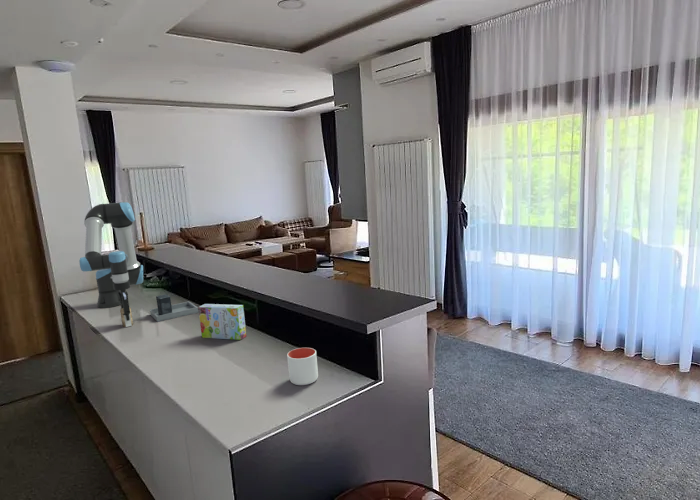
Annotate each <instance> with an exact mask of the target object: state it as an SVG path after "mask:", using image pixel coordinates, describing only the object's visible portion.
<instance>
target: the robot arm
mask: <svg viewBox="0 0 700 500" xmlns="http://www.w3.org/2000/svg"><path fill="white" fill-rule="evenodd" d="M84 217H85V218H84V224H83V225H84V226H85V246H84V247H85V248H84V249H85V250H84V256H83V257H80V258H79V261H78V262H79V263H78V264H79V268H80V270H81V271H82V272H92V271H96V272H95V280H96V285H97V290H98V298H97V302H96V305H97V308H99V309H106V308H113V307H118V306H120V309H122V308H123V310H124V314H123V315H124V318H125V325H126V327H125V328H129V327H131V326H133V325H132V324H131V318H130V308H131V307H130V303H129V293H128V292H127V290H128V289H130V288H131V286H135V285H139V284H140V285H141V284H142V283H144V265H143V264H141V262H139V261H138V260H137V255H136V249H135V245H134V244H135V243H134V238H133V233H132V232H133V231H132V225H134V224H133V223H134V222H135V221H136V219H135V213H134V211H133V208H132V205H131V204H130V203H129V202H127V201H126V202H121V201H120V202H112V203H110V202H109V203H98V204H97V205H94V206H93V207H92V208H90V209H89V210H88V212H87V213H86V215H85V216H84ZM109 224H110V226H111V228H113V229H114V232H115V237H116V242H117V247H118V250H117V251H116V250H115V251H112V252H111V251H110V252H109V253H108V254H102V239H103V238H102V237H103V236H102V235H103V227H104V225H109ZM129 307H130V308H129ZM128 326H129V327H128Z"/></svg>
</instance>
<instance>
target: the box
mask: <svg viewBox="0 0 700 500" xmlns="http://www.w3.org/2000/svg"><path fill="white" fill-rule="evenodd" d="M155 297H156V306H157V307H156V308H158V314H159V315H164V314H169V313H172V306H171V305H172V299H171V296H170V295H168V294H165V293H164V294H161V295H157V296H155Z"/></svg>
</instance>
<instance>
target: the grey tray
mask: <svg viewBox="0 0 700 500" xmlns="http://www.w3.org/2000/svg"><path fill="white" fill-rule="evenodd" d="M171 306H172V313H169V314H164V315H159V314H158V307H156V308H152V309H149V314H150V315H149V316H151V317H152V318H153V319H154V320H155V321H156V322H157V323H158V322H164V321H168V320H172V319H177V318H181V317H185V316H186V317H187V316H189V315H194V314H199V310H198V307H199V306H196V305H195V304H194V303H193V302H191V301H185V302H180V303H175V304H171Z"/></svg>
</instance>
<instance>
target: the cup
mask: <svg viewBox="0 0 700 500" xmlns="http://www.w3.org/2000/svg"><path fill="white" fill-rule="evenodd" d="M286 358H287V366H288V367H287V369H288V377H289V378H288V379H289V381H290V382H291V383H292V384H293V385H296V386H308V385H310V384H312V383H314V382H316V381H317V380H318V377H319V370H318V358H317V350H316V349H314V348H313V347H297V348H295V349H292V350H289V351H288V352H287V354H286Z"/></svg>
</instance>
